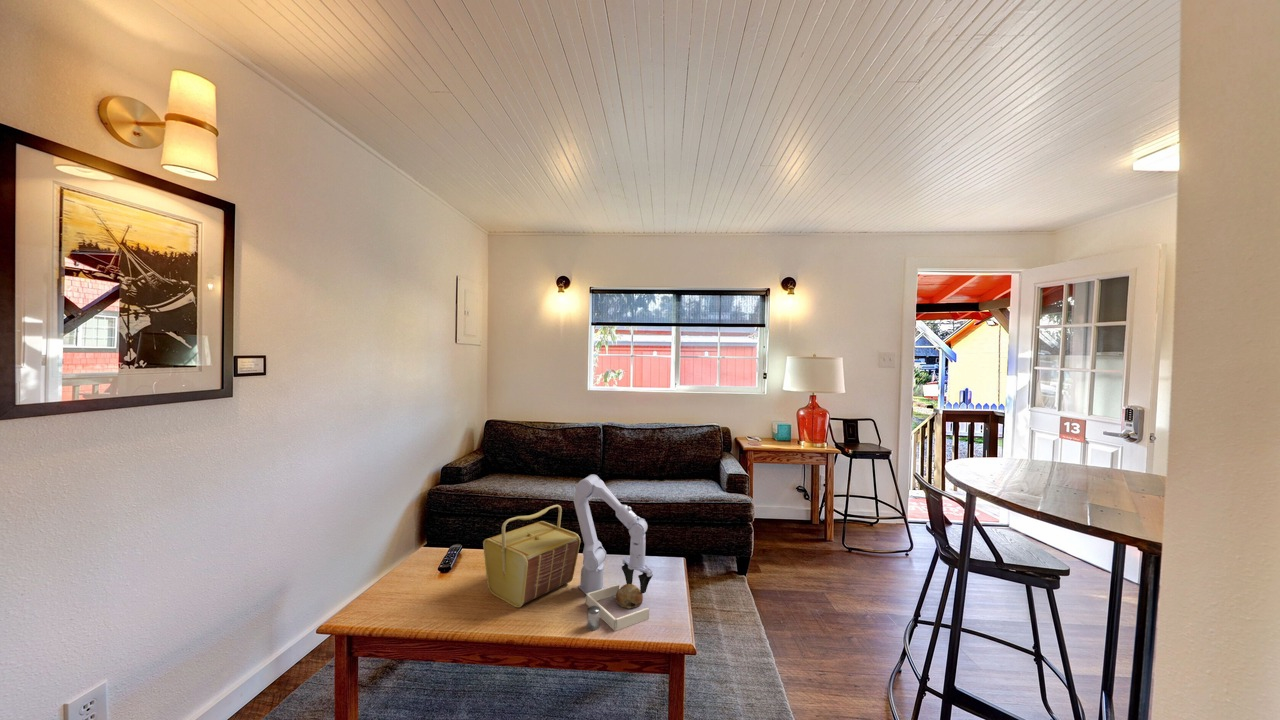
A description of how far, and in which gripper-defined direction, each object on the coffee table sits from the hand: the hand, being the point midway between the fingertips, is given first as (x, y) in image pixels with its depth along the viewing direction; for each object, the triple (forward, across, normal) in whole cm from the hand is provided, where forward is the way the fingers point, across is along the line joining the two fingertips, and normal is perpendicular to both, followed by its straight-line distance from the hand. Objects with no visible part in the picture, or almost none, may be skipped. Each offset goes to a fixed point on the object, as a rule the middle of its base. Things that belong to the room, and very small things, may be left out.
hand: (636, 588), depth 172 cm
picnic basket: (+4, -32, -26) cm, 41 cm away
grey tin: (+4, +4, -24) cm, 24 cm away
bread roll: (+4, 0, -4) cm, 5 cm away
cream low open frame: (+4, +2, -11) cm, 12 cm away
